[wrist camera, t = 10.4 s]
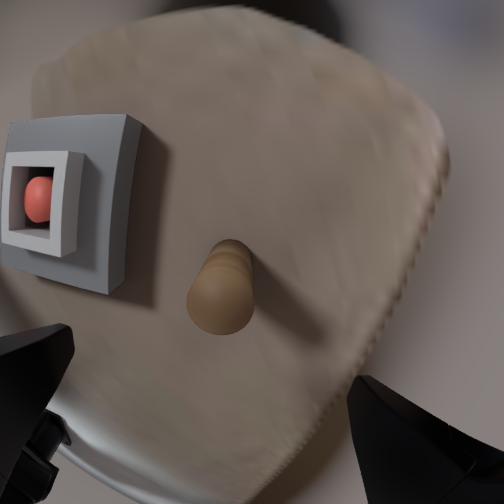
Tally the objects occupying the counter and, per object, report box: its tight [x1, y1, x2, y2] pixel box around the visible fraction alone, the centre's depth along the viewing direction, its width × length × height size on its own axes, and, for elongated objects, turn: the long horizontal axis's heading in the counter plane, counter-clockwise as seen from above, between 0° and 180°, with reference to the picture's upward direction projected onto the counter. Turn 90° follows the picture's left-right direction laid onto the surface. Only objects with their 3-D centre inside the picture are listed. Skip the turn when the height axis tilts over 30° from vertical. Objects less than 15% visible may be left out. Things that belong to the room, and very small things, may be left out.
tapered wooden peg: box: [187, 239, 254, 335], centre depth 16 cm, size 3×3×8 cm
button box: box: [0, 114, 143, 295], centre depth 16 cm, size 12×12×5 cm
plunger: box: [24, 177, 53, 223], centre depth 16 cm, size 3×3×3 cm
